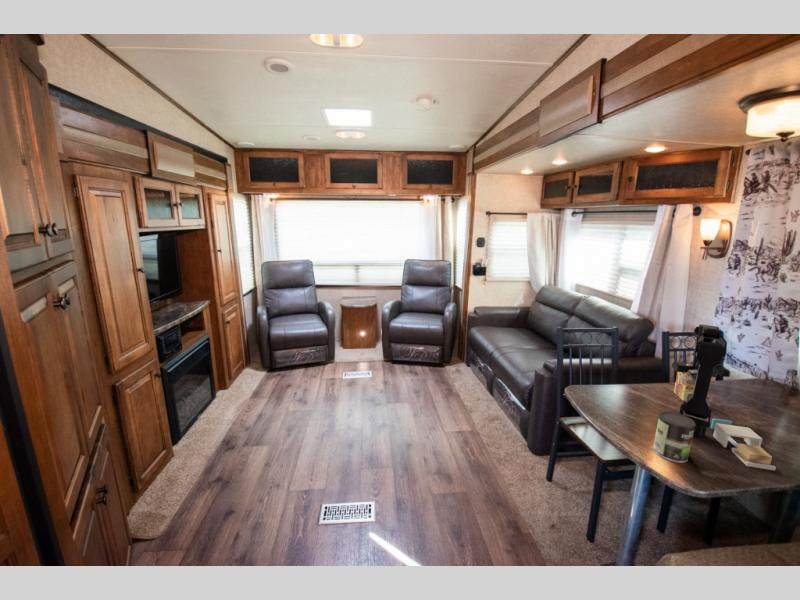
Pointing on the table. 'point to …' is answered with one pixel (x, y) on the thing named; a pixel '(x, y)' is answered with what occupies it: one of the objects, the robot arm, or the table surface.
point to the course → (736, 434)
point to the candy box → (683, 385)
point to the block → (753, 454)
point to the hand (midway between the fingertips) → (696, 387)
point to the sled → (737, 446)
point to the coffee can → (673, 436)
